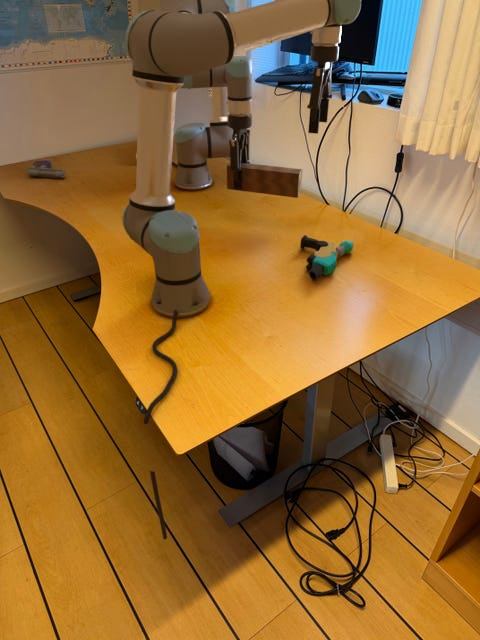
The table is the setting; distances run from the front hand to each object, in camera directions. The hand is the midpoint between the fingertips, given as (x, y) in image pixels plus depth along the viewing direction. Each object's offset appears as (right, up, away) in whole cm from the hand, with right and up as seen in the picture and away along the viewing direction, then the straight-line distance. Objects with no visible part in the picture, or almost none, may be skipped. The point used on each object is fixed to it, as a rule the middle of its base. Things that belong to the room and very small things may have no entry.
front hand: (317, 127), depth 140 cm
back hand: (-23, -12, +21) cm, 33 cm away
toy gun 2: (0, -40, +1) cm, 40 cm away
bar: (-15, -14, +19) cm, 28 cm away
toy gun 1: (-106, +7, +69) cm, 127 cm away
